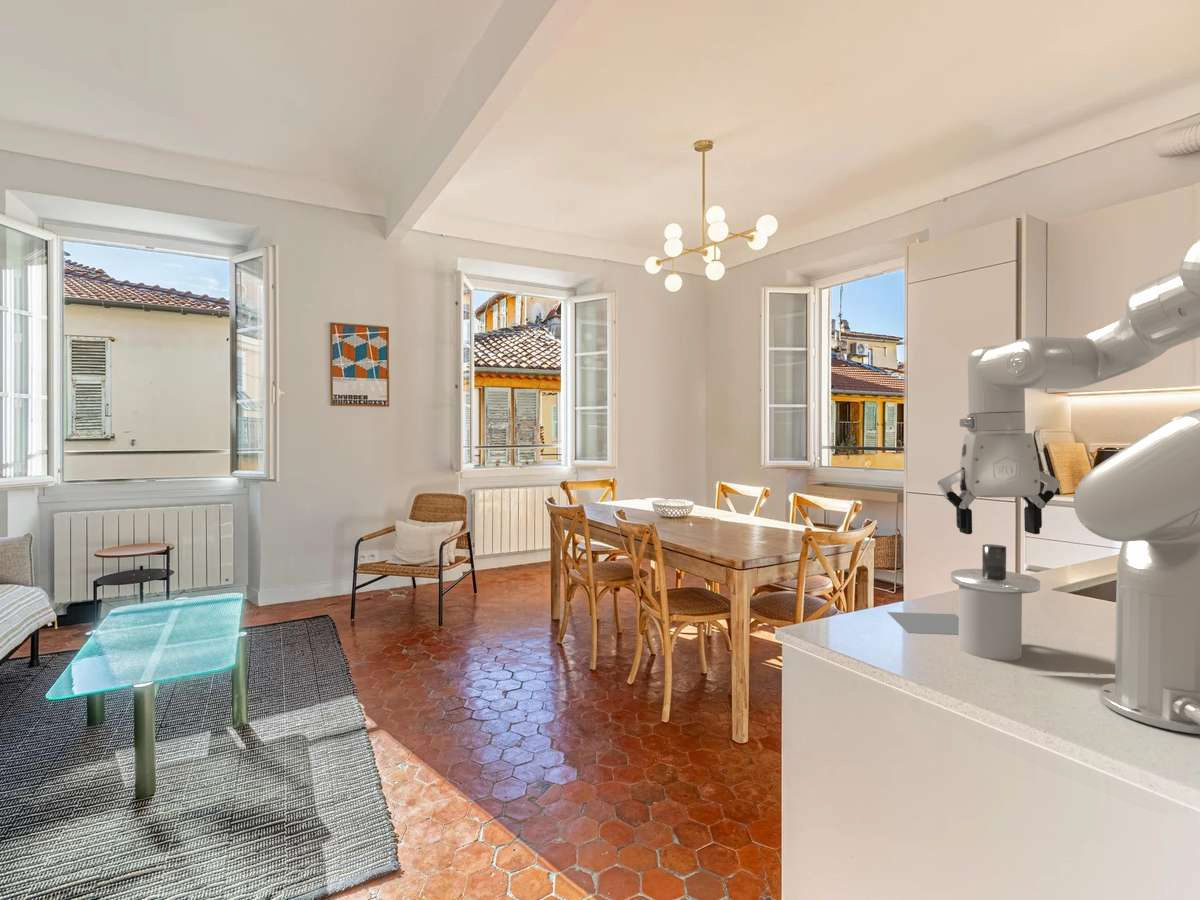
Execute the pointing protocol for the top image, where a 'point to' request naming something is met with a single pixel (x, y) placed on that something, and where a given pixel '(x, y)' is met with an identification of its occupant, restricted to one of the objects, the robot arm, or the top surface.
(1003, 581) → the lid
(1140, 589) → the robot arm
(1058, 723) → the top surface
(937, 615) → the mat
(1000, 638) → the mug
